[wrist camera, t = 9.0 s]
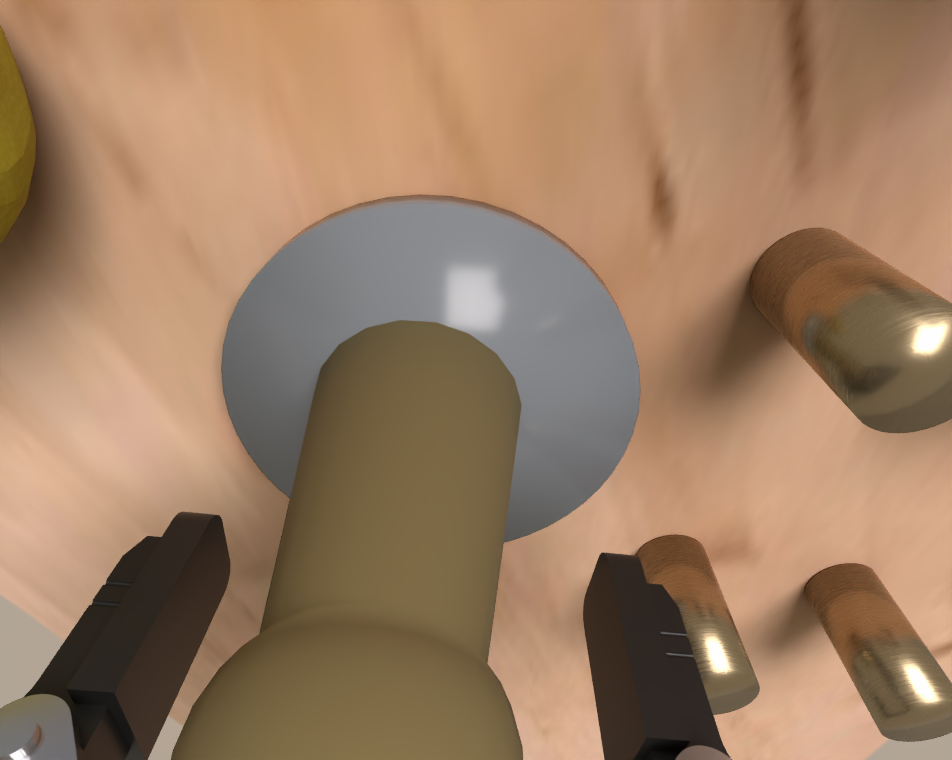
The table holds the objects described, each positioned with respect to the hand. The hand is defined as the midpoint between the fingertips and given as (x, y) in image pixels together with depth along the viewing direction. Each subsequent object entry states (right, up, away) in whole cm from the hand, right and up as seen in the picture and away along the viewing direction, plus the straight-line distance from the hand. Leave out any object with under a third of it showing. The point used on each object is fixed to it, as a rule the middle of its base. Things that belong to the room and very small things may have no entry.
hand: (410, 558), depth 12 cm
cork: (0, +3, +5) cm, 5 cm away
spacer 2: (+10, +7, +3) cm, 12 cm away
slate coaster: (0, +3, +5) cm, 6 cm away
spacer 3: (+16, -4, +10) cm, 19 cm away
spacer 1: (+9, -3, +9) cm, 13 cm away
